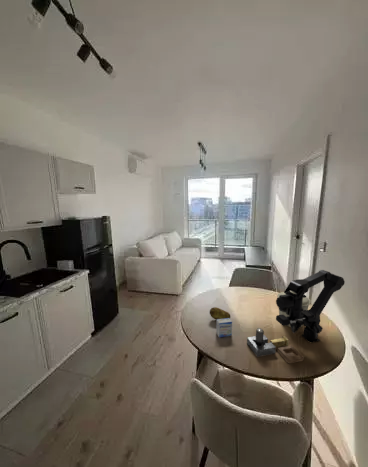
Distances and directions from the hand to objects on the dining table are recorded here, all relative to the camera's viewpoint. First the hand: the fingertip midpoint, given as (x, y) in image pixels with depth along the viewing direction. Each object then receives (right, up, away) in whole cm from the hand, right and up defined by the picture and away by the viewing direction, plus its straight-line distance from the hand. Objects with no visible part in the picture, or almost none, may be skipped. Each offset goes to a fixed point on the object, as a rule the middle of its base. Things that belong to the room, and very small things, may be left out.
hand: (293, 332), depth 112 cm
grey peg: (-20, -7, -3) cm, 21 cm away
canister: (+8, -3, +19) cm, 21 cm away
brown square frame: (-6, -7, -8) cm, 13 cm away
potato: (-35, -3, +23) cm, 42 cm away
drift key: (-9, -6, -1) cm, 11 cm away
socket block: (-19, -7, -3) cm, 20 cm away
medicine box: (-35, -5, +9) cm, 37 cm away
